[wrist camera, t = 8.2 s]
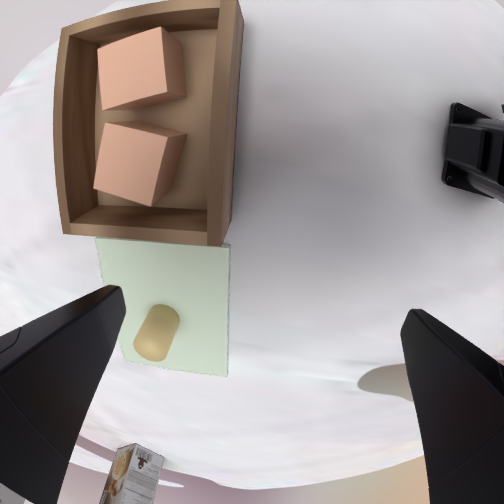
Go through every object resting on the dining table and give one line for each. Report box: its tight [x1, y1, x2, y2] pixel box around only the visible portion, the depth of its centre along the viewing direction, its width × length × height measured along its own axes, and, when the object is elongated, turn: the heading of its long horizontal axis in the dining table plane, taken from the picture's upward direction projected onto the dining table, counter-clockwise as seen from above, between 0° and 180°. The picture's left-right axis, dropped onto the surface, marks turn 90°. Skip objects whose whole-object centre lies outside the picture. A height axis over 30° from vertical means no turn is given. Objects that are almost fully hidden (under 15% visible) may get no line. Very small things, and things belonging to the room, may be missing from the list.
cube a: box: [98, 27, 187, 110], centre depth 13 cm, size 4×4×4 cm
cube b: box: [93, 121, 187, 207], centre depth 16 cm, size 4×4×4 cm
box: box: [53, 0, 244, 247], centre depth 15 cm, size 11×14×4 cm
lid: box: [95, 237, 230, 377], centre depth 22 cm, size 11×14×5 cm
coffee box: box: [99, 443, 164, 504], centre depth 33 cm, size 9×6×16 cm
